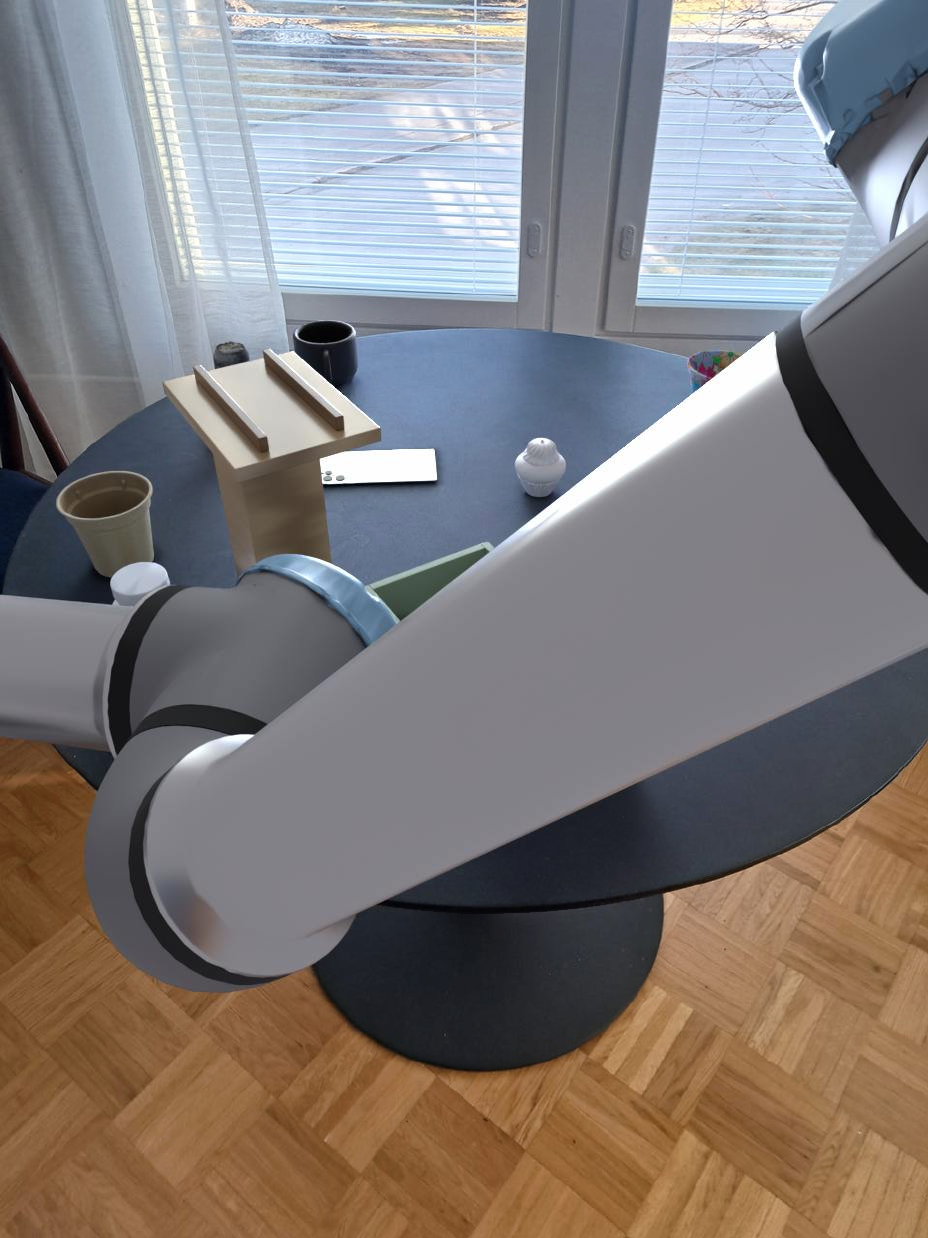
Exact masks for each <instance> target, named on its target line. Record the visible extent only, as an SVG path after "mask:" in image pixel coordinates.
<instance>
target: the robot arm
mask: <svg viewBox="0 0 928 1238" xmlns="http://www.w3.org/2000/svg"><path fill="white" fill-rule="evenodd" d="M793 82H794V88H795V91H796V94H797V96H798V98H799V100H800V101H801V103H802V105H803V107H804V109H805V111H806V113H807V115H808V117H809V118H810V120H811V122H812V124H813V126H814V128H815V130H816V131H817V134H818V136H819V137H820V140H821V141H822V143H823V152H822V154H823V155H824V157H825V159H826V161H827V163H828V164H829V165H830V166H832V167H833V168H835V169H838V170H839V172H840V174H841V176H842V177H843V179H844V180H845V182H846V184H847V185H848V187H849V189H850V190H851V193H852V194H853V195H854V197H855V198H856V201H857V202H858V204H859V206H860V208H861V209H862V211H863V213H864V214H865V216H866V218H867V220H868V222H869V224H870V226H871V228H872V232H873V234H874V236H875V240H876V242H877V245H878V248H879V250H878V251H877V252H876V253H874V254H873V255H872V256H871V257H869V258H868V259H867V260H866V261H864V262H863V263H862V264H860V265H859V266H858V267H857V268H855V269H854V270H853V271H852V272H850V273H849V274H848V275H847V276H845V277H844V278H843V279H842V280H840V281H839V282H838V283H836V284H835V285H834V286H833V287H831V288H830V289H828V291H826V292H825V293H823V295H821V296H820V297H819V298H818V299H816V300H815V301H814V302H813V303H811V304H810V305H809V306H808V307H806V308H805V309H804V310H802V311H801V312H800V313H799V314H798V315H796V316H795V317H794V318H793V319H791V320H789V322H788V323H786V324H785V325H784V326H781V328H779V330H776V331H773V332H771V333H770V334H769V335H767V336H766V337H765V338H763V339H762V340H761V341H760V342H758V343H757V344H755V346H753V347H752V348H751V349H749V350H748V351H747V352H745V353H743V356H742V357H740V358H739V359H738V360H737V361H735V362H734V363H733V364H731V365H730V366H729V367H727V368H726V369H725V370H724V371H722V372H721V373H720V374H718V375H717V376H716V377H715V378H713V379H712V380H711V381H709V382H708V383H707V384H706V385H704V386H703V387H702V388H700V389H699V390H698V391H697V392H695V393H694V394H693V395H691V394H690V396H689V397H687V398H686V399H685V400H683V402H681V403H680V404H679V405H677V406H676V407H675V408H673V409H672V410H671V411H669V412H668V413H667V414H665V415H664V416H663V417H662V418H660V419H659V420H658V421H656V422H655V423H653V425H651V426H650V427H649V428H648V429H646V430H645V431H644V432H642V433H641V434H640V435H638V436H637V437H636V438H635V439H633V440H632V441H631V442H629V443H628V444H627V445H626V446H625V447H623V448H622V449H620V450H619V451H618V452H617V453H615V454H614V455H612V456H611V458H609V459H608V460H606V461H605V462H604V463H602V464H601V465H600V466H599V467H597V468H596V469H594V471H592V472H591V473H590V474H588V475H587V476H586V477H584V478H583V479H582V480H581V481H579V482H578V483H577V484H575V485H574V486H572V487H571V488H570V489H569V490H567V492H565V493H564V494H563V495H561V496H560V497H559V498H558V499H556V500H555V501H553V502H552V503H551V504H550V505H549V506H547V507H545V508H544V509H543V510H541V512H539V513H538V514H537V515H536V516H534V517H533V518H532V519H530V520H528V522H526V523H525V524H524V525H523V526H521V527H520V528H518V530H516V531H514V533H512V534H511V535H509V536H508V537H507V538H506V539H504V540H503V541H502V542H501V543H499V544H498V545H497V546H496V547H494V549H493V550H492V551H491V552H489V553H488V554H487V555H485V556H484V557H483V558H482V559H480V560H479V561H478V562H476V563H475V564H474V565H473V566H471V567H470V568H469V569H467V570H466V571H465V572H464V573H462V574H461V575H460V576H458V577H457V578H456V579H455V580H453V581H452V582H451V583H449V584H448V585H447V586H446V587H444V588H443V589H442V590H440V591H439V592H438V593H436V594H435V595H434V596H433V597H431V598H430V599H429V600H427V601H426V602H425V603H424V604H422V605H421V606H420V607H418V608H417V609H416V610H415V611H413V612H412V613H411V614H409V615H408V616H407V617H406V618H404V619H403V620H402V621H400V622H399V623H398V624H396V622H395V620H394V619H393V617H392V615H391V614H390V612H389V611H388V609H387V608H386V607H385V605H384V604H383V603H382V602H381V601H380V599H378V598H377V597H374V596H372V595H371V594H370V593H368V592H367V591H366V590H365V588H364V587H365V585H364V583H363V582H362V581H360V579H357V577H355V576H353V575H352V574H351V573H349V572H347V571H346V570H344V569H342V568H341V567H339V566H336V565H335V564H333V563H332V564H330V563H328V562H325V561H323V560H320V559H316V558H313V557H309V556H304V555H297V554H281V555H275V556H271V557H268V558H265V559H263V560H261V561H259V562H258V563H256V564H255V565H254V566H252V567H249V568H247V569H246V570H244V572H243V574H242V575H241V576H240V577H239V578H238V577H237V580H236V583H235V586H233V587H230V588H221V587H220V588H219V587H209V586H208V587H207V586H193V585H182V584H170V585H165V586H162V587H159V588H156V589H155V590H153V591H151V592H149V593H148V594H147V595H145V596H144V597H143V598H142V599H141V600H140V601H139V602H138V603H137V604H136V605H135V606H134V607H128V606H117V605H112V604H106V603H95V602H94V603H93V602H83V601H75V600H74V601H73V600H61V599H50V598H42V597H41V598H39V597H29V596H21V595H20V596H18V595H8V594H7V595H6V594H0V737H1V738H8V739H14V740H22V741H29V742H37V743H43V744H51V745H59V746H65V747H73V748H80V749H88V750H94V751H95V750H96V751H101V752H108V753H111V755H112V757H113V761H112V763H111V764H110V767H108V770H107V772H106V774H105V775H104V777H103V779H102V781H101V784H100V786H99V787H98V789H97V792H96V794H95V798H94V800H93V804H92V807H91V810H90V813H89V817H88V822H87V825H86V829H85V840H84V850H83V856H84V861H83V862H84V873H83V874H84V878H85V883H86V884H85V885H86V888H87V893H88V897H89V900H90V903H91V906H92V910H93V912H94V915H95V917H96V920H97V921H98V923H99V926H100V927H101V930H102V931H103V933H104V934H105V936H106V937H107V938H108V940H109V941H110V942H111V944H112V945H113V946H114V948H115V949H116V950H117V952H118V954H120V955H121V956H122V957H124V958H125V959H126V960H127V961H128V962H130V963H131V964H132V965H133V966H134V967H135V968H137V969H138V970H139V971H141V972H143V973H145V974H146V975H148V976H150V977H151V978H153V979H155V980H157V981H159V982H161V983H163V984H165V985H167V986H171V987H175V988H178V989H182V990H185V991H189V992H193V993H213V994H228V993H235V992H241V991H246V990H250V989H251V990H252V989H254V988H259V987H263V986H265V985H268V984H270V983H273V982H277V981H278V980H281V979H283V978H286V977H289V976H290V975H292V974H294V973H296V972H299V971H302V970H304V969H307V968H309V967H311V966H312V965H314V964H316V963H317V962H319V961H321V960H322V959H323V958H324V957H326V956H327V955H328V954H330V953H331V952H332V951H333V950H334V949H335V948H336V946H337V945H339V943H340V942H341V941H342V939H343V938H344V937H345V936H346V934H347V933H348V932H349V930H350V929H351V926H352V925H353V922H354V920H355V919H356V916H357V914H359V913H361V912H363V911H365V910H367V909H370V908H372V907H374V906H377V905H378V904H381V903H382V902H384V901H387V900H389V899H392V898H393V897H396V896H398V895H400V894H402V893H404V892H406V891H408V890H411V889H412V888H415V887H417V886H419V885H421V884H423V883H425V882H428V881H430V880H432V879H434V878H436V877H438V876H440V875H443V874H445V873H447V872H449V871H451V870H453V869H456V868H457V867H460V866H462V865H464V864H466V863H468V862H471V861H473V860H475V859H477V858H479V857H481V856H484V855H486V854H488V853H490V852H493V851H494V850H496V849H498V848H501V847H502V846H505V845H507V844H509V843H511V842H513V841H516V840H517V839H520V838H521V837H524V836H526V835H528V834H531V833H532V832H535V831H537V830H539V829H541V828H544V827H546V826H547V825H550V824H552V823H554V822H556V821H558V820H561V819H562V818H565V817H567V816H569V815H571V814H573V813H576V812H579V811H580V810H582V809H584V808H586V807H588V806H590V805H593V804H595V803H597V802H599V801H602V800H604V799H606V798H608V797H610V796H612V795H614V794H616V793H619V792H620V791H623V790H625V789H627V788H629V787H631V786H633V785H635V784H638V783H640V782H642V781H645V780H646V779H649V778H651V777H653V776H655V775H657V774H659V773H661V772H664V771H666V770H668V769H670V768H672V767H674V766H676V765H679V764H681V763H682V762H685V761H687V760H689V759H692V758H694V757H696V756H698V755H700V754H702V753H704V752H706V751H708V750H711V749H713V748H715V747H717V746H719V745H721V744H724V743H726V742H728V741H730V740H732V739H734V738H737V737H739V736H741V735H743V734H744V733H748V732H749V731H751V730H752V731H753V730H754V729H756V728H758V727H760V726H762V725H764V724H767V723H769V722H771V721H773V720H776V719H777V718H779V717H782V716H784V715H786V714H788V713H790V712H792V711H795V710H796V709H800V708H801V707H803V706H805V705H808V704H809V703H811V702H814V701H816V700H818V699H821V698H822V697H824V696H826V695H828V694H831V693H833V692H835V691H837V690H840V689H842V688H844V687H846V686H848V685H850V684H852V683H855V682H857V681H859V680H861V679H864V678H865V677H867V676H869V675H872V674H873V673H876V672H878V671H880V670H883V669H884V668H887V667H889V666H891V665H894V664H895V663H897V662H899V661H901V660H904V659H906V658H908V657H910V656H912V655H915V654H917V653H919V652H921V651H923V650H926V649H927V648H928V0H839V1H837V2H836V3H835V4H834V6H832V7H831V8H830V9H829V10H828V11H827V12H826V14H825V15H824V16H823V17H822V18H821V19H820V20H819V22H817V24H816V25H815V26H814V28H812V30H811V32H809V34H808V36H807V37H806V39H805V41H804V42H803V44H802V45H801V47H800V49H799V51H798V54H797V57H796V59H795V64H794V69H793Z"/></svg>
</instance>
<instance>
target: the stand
mask: <svg viewBox="0 0 928 1238" xmlns="http://www.w3.org/2000/svg"><path fill="white" fill-rule="evenodd" d="M262 355H263V357H262V358H258V359H253V360H250V361H248V362H244V363H240V364H236V365H231V366H227V367H223V368H219V369H215V368H213V369H210V370H206V369H205V368H204V367H203V365H202V364H199V365H194V366H193V367H192V370H193V373H192V374H189V375H184V376H181V377H180V376H179V377H176V378H172V379H168V380H163V381H162V382H161V384H162V389H163V393H164V395H165V396H166V398H167V399H168V400H169V401H170V402H171V404H172V405H173V406H174V407H175V408H176V410H177V411H178V412H179V413H180V415H181V416H182V417H183V418H184V420H185V421H186V422H187V423H188V424H189V426H191V429H193V431H194V432H195V433H196V434H197V436H198V437H199V438H200V439H201V440H202V442H203V443H204V444H205V445H206V447H207V448H208V449H209V451H210V452H211V453H212V456H213V462H214V467H215V471H216V477H217V481H218V486H219V491H220V496H221V501H222V506H223V511H224V516H225V522H226V525H227V526H226V527H227V530H228V535H229V540H230V545H231V551H232V555H233V560H234V565H235V569H236V570H235V571H236V575H237V579H238V578H239V577H240V576H241V575H242V574H243V572H244V570H246V569H247V568H249V567H252V566H254V565H255V564H256V563H258V562H259V561H261V560H263V559H265V558H268V557H271V556H275V555H281V554H297V555H304V556H309V557H313V558H316V559H320V560H323V561H325V562H328V563H330V564H332V565H333V562H332V555H331V545H330V535H329V527H328V518H327V510H326V500H325V499H326V498H325V492H324V491H325V490H324V486H323V482H322V473H321V464H320V459H322V458H325V457H328V456H332V455H335V454H339V453H342V452H350V451H353V450H355V449H359V448H362V447H366V446H369V445H372V444H377V443H380V442H382V429H381V427H380V426H379V425H378V424H377V423H376V422H374V420H372V419H371V418H370V417H369V416H368V415H366V414H365V413H364V412H363V411H362V409H361V410H360V408H359V407H357V406H356V405H355V404H354V403H353V402H351V400H350V399H348V398H347V397H346V396H345V395H343V394H342V392H340V391H339V390H338V389H337V388H335V386H332V385H331V384H330V383H329V382H327V381H326V380H325V379H324V378H323V377H322V376H320V375H319V374H318V373H317V372H316V371H315V370H314V369H312V368H311V367H310V366H309V365H308V364H307V363H306V362H304V361H303V360H302V359H301V358H300V357H299V356H298V355H296V354H295V351H293V350H291V351H288V352H287V351H286V352H284V353H279V354H276V353H275V352H274V351H273V350H272V349H271V348H268V349H263V350H262Z"/></svg>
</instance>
